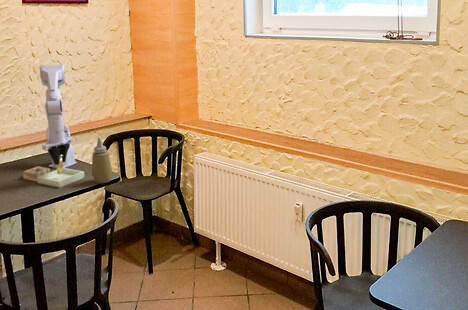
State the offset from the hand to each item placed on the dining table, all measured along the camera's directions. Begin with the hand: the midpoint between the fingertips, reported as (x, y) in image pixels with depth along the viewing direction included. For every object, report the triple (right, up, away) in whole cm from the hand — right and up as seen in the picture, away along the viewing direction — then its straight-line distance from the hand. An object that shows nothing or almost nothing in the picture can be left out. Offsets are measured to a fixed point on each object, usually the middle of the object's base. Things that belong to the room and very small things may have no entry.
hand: (59, 162), depth 224 cm
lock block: (-11, -6, +6) cm, 14 cm away
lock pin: (0, -4, +1) cm, 4 cm away
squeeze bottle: (+17, -8, +1) cm, 19 cm away
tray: (0, -7, +2) cm, 7 cm away
